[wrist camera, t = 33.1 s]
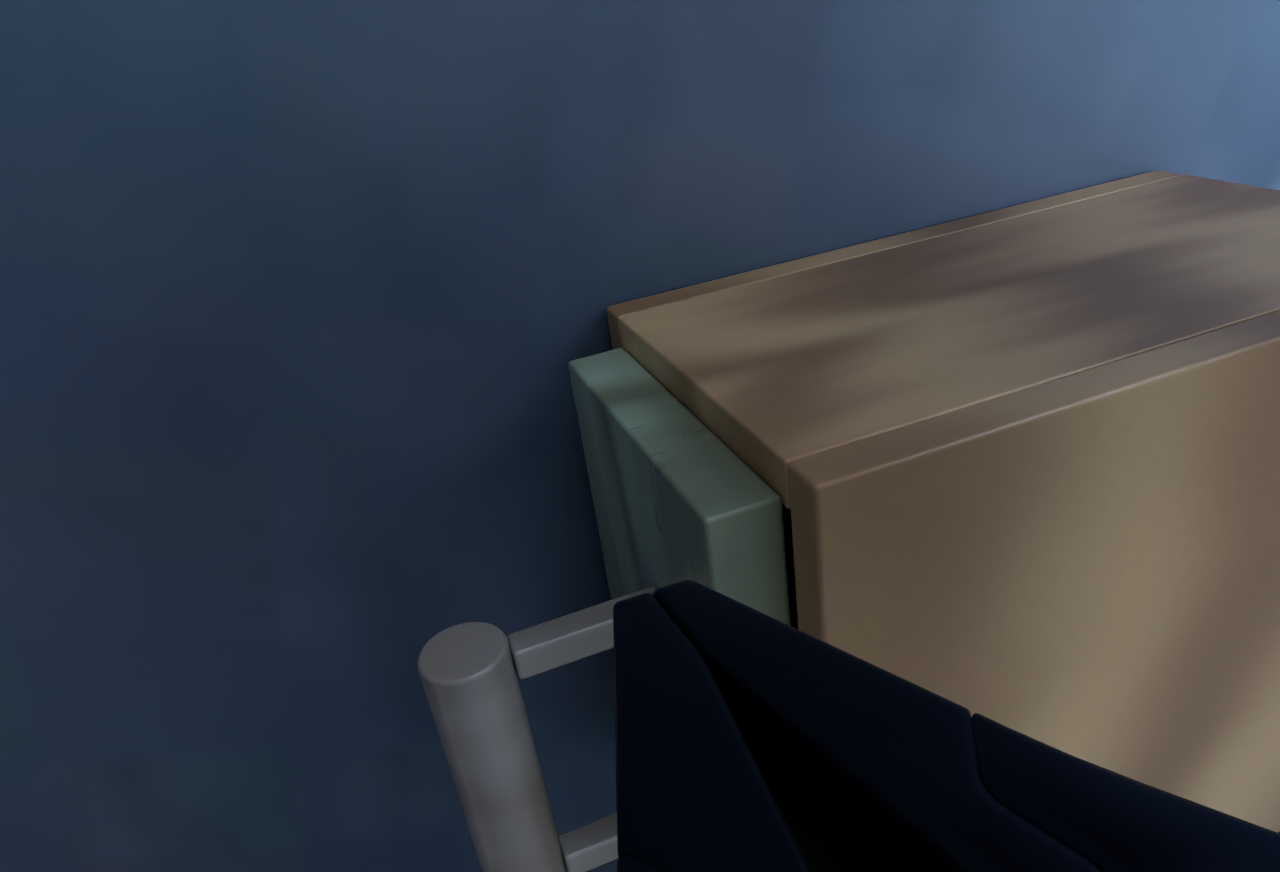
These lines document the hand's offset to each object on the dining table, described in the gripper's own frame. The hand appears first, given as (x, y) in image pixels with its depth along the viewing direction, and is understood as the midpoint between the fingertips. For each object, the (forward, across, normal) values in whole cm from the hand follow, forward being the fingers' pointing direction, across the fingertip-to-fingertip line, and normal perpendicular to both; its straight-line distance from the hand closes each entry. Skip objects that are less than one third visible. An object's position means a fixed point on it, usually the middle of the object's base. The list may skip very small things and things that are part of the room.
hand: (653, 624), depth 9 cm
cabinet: (+10, -10, +6) cm, 16 cm away
